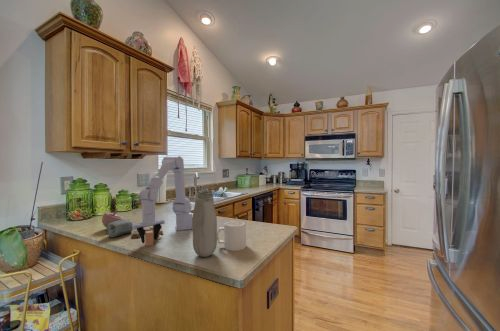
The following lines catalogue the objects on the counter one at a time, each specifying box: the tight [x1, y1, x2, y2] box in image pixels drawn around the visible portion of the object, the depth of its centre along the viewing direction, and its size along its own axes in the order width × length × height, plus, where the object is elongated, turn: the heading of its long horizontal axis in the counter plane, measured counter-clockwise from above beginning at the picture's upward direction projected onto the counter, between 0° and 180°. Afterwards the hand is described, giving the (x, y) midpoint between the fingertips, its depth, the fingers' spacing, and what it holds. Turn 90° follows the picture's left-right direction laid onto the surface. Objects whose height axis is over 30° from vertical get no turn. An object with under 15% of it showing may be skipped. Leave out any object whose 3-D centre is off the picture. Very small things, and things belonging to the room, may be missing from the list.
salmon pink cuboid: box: [144, 231, 154, 247], centre depth 115 cm, size 4×4×6 cm
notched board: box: [131, 227, 164, 239], centre depth 130 cm, size 15×7×2 cm, turn 113°
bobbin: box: [148, 225, 163, 241], centre depth 124 cm, size 6×6×6 cm
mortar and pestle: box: [101, 209, 126, 228], centre depth 142 cm, size 12×12×12 cm
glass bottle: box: [192, 188, 218, 258], centre depth 100 cm, size 10×10×28 cm
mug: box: [217, 220, 247, 252], centre depth 110 cm, size 14×10×11 cm
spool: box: [105, 218, 134, 238], centre depth 130 cm, size 14×10×10 cm
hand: (149, 241), depth 115 cm, fingers open, 5 cm apart
